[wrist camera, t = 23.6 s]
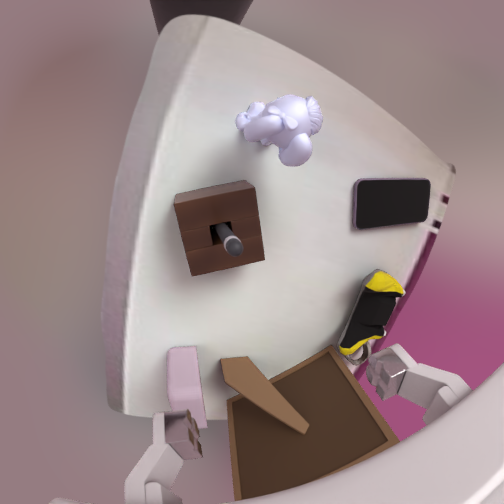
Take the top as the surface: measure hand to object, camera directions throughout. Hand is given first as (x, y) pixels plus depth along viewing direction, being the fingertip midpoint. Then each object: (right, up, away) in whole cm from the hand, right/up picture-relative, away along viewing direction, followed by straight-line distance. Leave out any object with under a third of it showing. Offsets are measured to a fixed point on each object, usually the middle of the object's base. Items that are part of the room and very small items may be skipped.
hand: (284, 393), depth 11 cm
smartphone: (+20, +14, +27) cm, 36 cm away
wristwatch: (+16, -14, +37) cm, 42 cm away
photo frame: (+2, -14, +35) cm, 37 cm away
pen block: (-6, +10, +22) cm, 25 cm away
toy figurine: (0, +20, +19) cm, 28 cm away
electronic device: (-12, -12, +30) cm, 35 cm away
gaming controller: (+17, -3, +34) cm, 38 cm away
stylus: (-6, +10, +23) cm, 25 cm away
